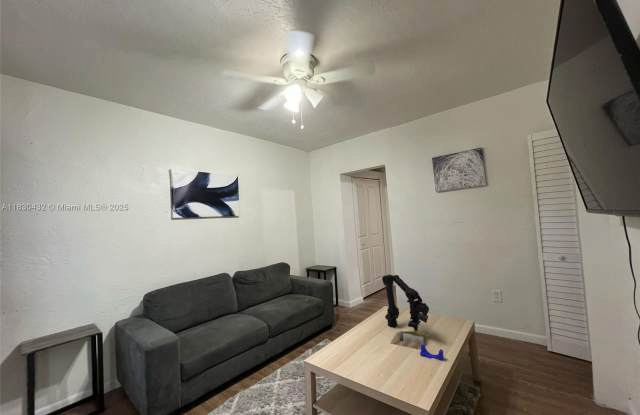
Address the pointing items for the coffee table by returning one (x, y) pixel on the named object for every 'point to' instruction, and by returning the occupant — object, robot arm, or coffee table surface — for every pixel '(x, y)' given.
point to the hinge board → (407, 344)
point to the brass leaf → (413, 332)
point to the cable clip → (429, 355)
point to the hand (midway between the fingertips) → (416, 332)
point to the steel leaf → (411, 338)
